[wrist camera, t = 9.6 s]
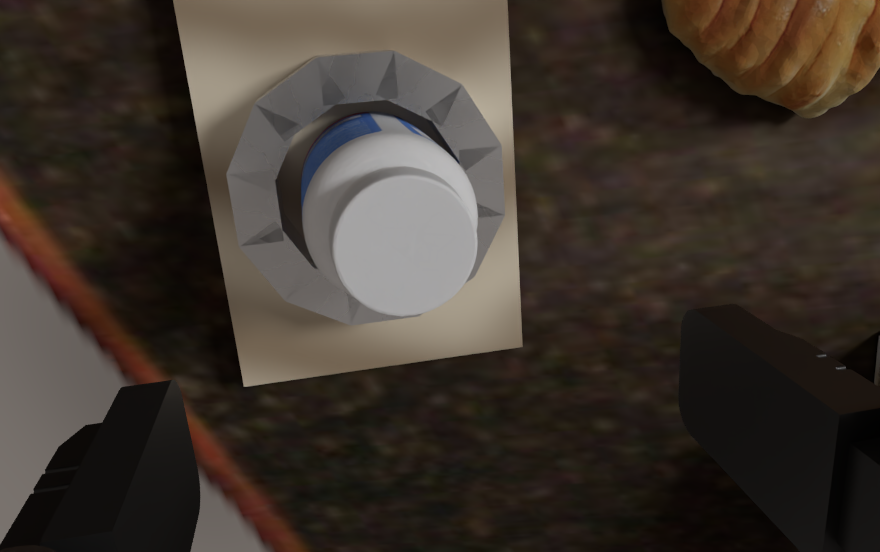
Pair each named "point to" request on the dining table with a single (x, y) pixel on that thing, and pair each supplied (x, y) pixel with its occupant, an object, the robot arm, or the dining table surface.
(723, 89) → the dining table surface
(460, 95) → the ring collar
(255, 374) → the ring plate
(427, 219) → the pill bottle
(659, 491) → the dining table surface
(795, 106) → the pastry
